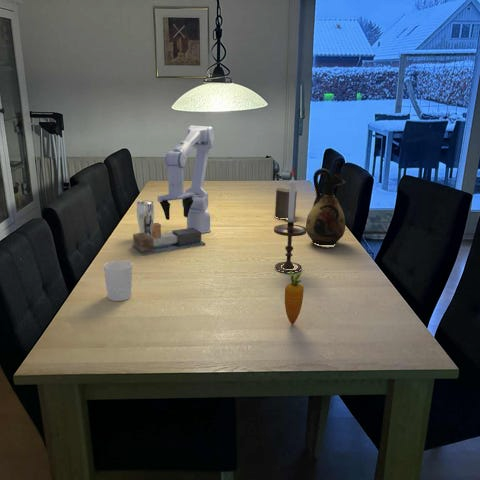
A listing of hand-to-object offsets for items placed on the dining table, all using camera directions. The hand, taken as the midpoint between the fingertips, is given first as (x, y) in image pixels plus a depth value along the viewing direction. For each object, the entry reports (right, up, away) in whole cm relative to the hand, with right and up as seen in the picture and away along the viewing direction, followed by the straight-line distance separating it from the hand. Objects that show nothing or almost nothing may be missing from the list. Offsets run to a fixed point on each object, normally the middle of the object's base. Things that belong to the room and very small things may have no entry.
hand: (176, 218), depth 194 cm
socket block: (-12, -12, -5) cm, 18 cm away
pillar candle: (+46, +2, +44) cm, 64 cm away
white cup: (-11, -25, -46) cm, 54 cm away
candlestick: (+41, -19, -21) cm, 50 cm away
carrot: (+38, -31, -61) cm, 78 cm away
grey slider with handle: (-5, -10, -2) cm, 12 cm away
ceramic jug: (+57, -10, +6) cm, 59 cm away
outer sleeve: (-3, -11, 0) cm, 11 cm away
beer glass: (-13, -8, +8) cm, 18 cm away
